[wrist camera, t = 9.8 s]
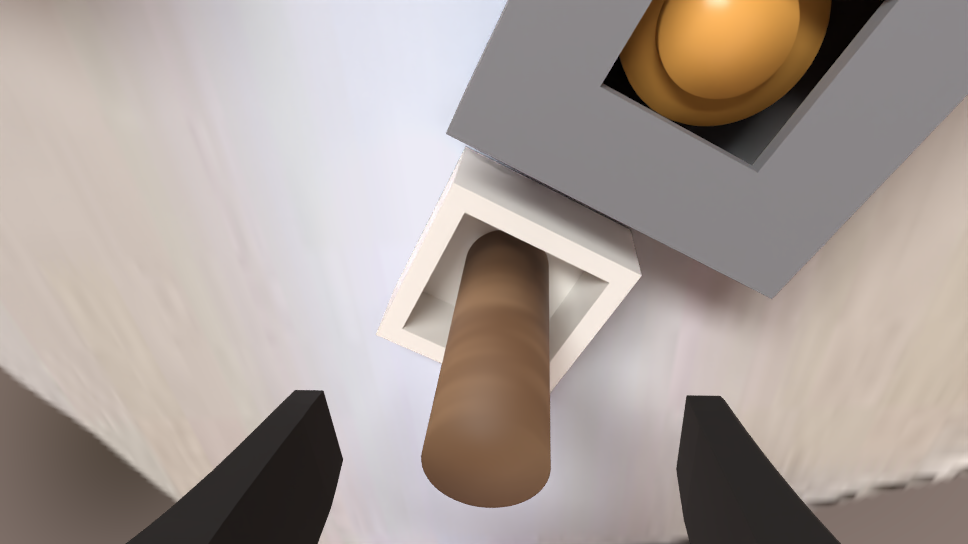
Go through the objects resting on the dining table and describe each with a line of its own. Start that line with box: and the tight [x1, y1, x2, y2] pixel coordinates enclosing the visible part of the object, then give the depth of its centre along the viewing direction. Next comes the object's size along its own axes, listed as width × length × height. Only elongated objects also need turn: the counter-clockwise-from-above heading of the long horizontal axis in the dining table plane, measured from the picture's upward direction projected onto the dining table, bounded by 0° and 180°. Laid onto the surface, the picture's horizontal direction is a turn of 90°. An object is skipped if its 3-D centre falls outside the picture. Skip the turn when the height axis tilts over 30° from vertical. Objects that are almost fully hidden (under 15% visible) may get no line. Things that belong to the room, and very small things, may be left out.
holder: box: [376, 147, 642, 392], centre depth 21 cm, size 6×6×3 cm
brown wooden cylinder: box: [421, 230, 551, 508], centre depth 18 cm, size 3×3×9 cm
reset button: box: [619, 0, 831, 126], centre depth 15 cm, size 5×5×1 cm
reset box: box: [446, 0, 968, 299], centre depth 15 cm, size 10×10×4 cm
